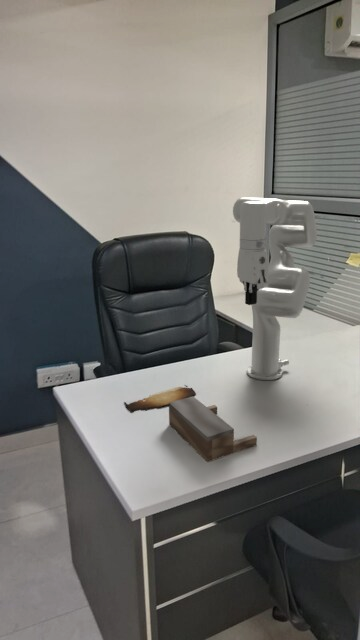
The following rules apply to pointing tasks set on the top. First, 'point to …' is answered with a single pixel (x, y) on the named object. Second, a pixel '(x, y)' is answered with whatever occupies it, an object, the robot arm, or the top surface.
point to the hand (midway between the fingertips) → (250, 303)
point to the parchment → (161, 399)
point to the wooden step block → (205, 429)
